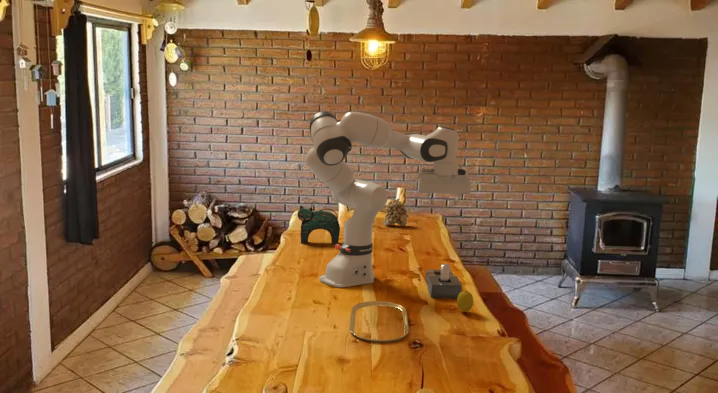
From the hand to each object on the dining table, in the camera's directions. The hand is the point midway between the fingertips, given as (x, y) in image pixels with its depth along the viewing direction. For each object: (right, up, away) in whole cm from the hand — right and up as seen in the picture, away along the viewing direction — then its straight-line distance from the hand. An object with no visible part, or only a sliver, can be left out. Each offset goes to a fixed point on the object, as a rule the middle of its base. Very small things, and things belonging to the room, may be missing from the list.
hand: (443, 204), depth 265 cm
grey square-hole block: (-1, -33, -9) cm, 34 cm away
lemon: (+4, -37, -28) cm, 47 cm away
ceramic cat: (-52, -19, +59) cm, 80 cm away
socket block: (-1, -31, +3) cm, 31 cm away
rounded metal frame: (-26, -39, -40) cm, 61 cm away
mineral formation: (-13, -13, +97) cm, 99 cm away
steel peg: (-1, -33, -9) cm, 34 cm away
